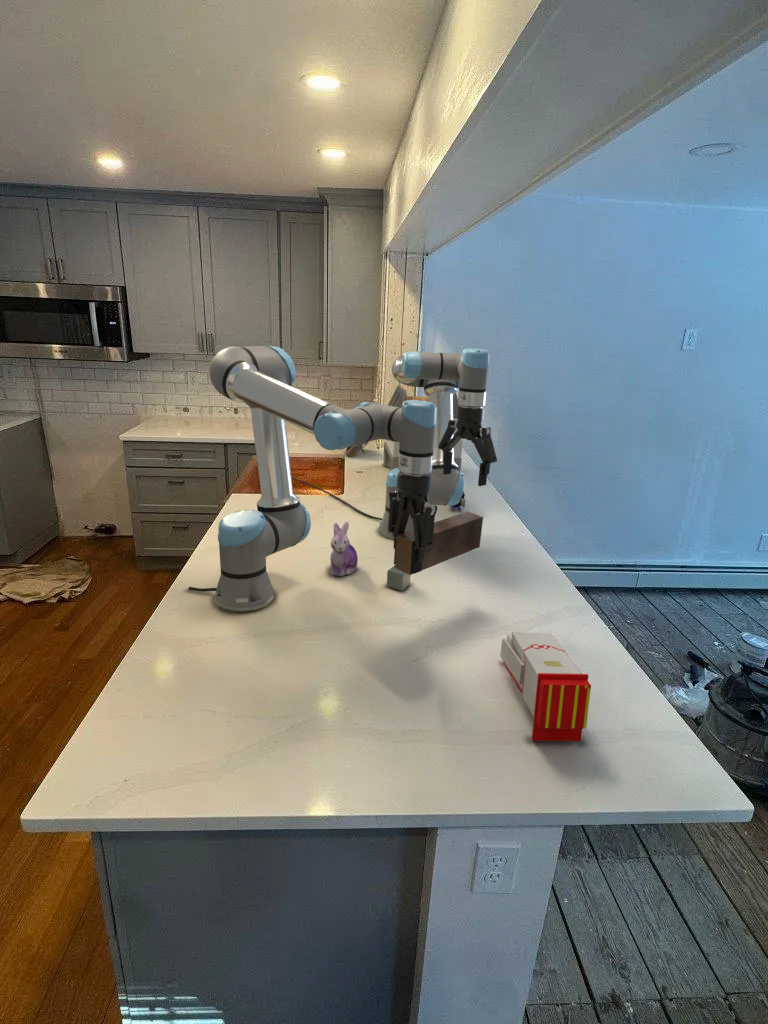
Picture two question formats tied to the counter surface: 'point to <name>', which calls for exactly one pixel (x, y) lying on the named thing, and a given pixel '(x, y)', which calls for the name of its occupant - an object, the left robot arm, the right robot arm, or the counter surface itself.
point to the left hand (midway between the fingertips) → (407, 567)
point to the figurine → (342, 552)
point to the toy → (548, 685)
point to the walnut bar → (442, 541)
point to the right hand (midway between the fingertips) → (464, 479)
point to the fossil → (355, 449)
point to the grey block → (397, 579)
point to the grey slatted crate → (393, 447)
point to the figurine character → (461, 503)
